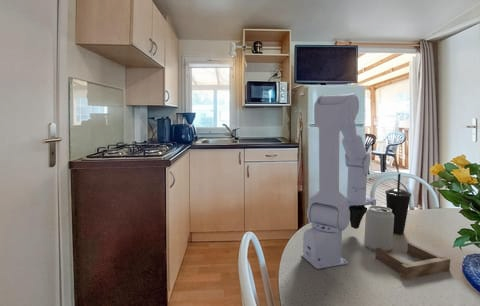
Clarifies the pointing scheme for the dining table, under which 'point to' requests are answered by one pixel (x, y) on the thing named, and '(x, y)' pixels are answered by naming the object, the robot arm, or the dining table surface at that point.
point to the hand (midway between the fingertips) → (354, 227)
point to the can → (379, 228)
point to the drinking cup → (398, 206)
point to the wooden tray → (415, 269)
